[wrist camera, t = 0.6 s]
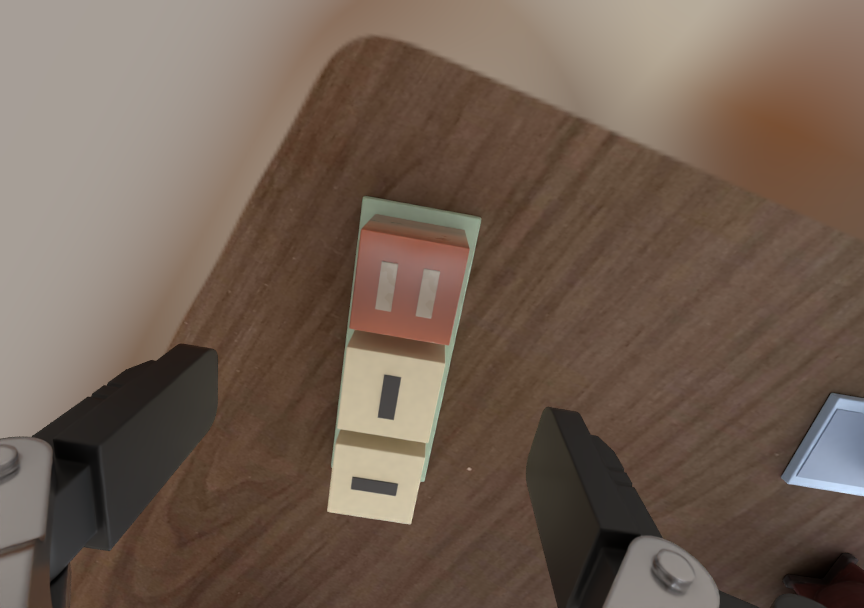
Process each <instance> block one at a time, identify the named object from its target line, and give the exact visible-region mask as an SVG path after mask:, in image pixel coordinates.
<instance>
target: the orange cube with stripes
mask: <svg viewBox="0 0 864 608" xmlns="http://www.w3.org/2000/svg"><path fill="white" fill-rule="evenodd" d="M469 251H470V248H469V244H468V240H467V236H466V233H465V230H462V229H456V228H451V227H445V226H440V225H434V224H429V223H423V222H418V221H412V220H407V219H401V218H396V217H390V216H385V215H379V214H375V215H374V216H373V217H372V218H371V219H370V220H369V221H368V222H367V223H366V224H365V225H364V227H363V228H362V229H361V232H360V241H359V249H358V257H357V266H356V274H355V282H354V291H353V299H352V307H351V316H350V324H349V328H350V329H354V330H360V331H366V332H372V333H378V334H384V335H390V336H395V337H401V338H407V339H413V340H419V341H425V342H431V343H436V344H442V345H449V344H450V340H451V335H452V330H453V326H454V321H455V316H456V312H457V307H458V302H459V298H460V293H461V288H462V284H463V279H464V274H465V270H466V265H467V260H468V256H469Z"/></svg>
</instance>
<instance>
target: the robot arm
mask: <svg viewBox="0 0 864 608" xmlns="http://www.w3.org/2000/svg"><path fill="white" fill-rule="evenodd" d="M217 404H218V355H217V352H216V351H215V350H214V349H211V348H205V347H199V346H193V345H187V344H178V345H177V346H175V347H174V348H173V349H171V350H170V351H169V352H167V353H166V354H165V355H163V356H162V357H161V358H159V359H158V360H157V361H154V360H150V361H147V362H145V363H142V364H140V365H137V366H134V367H132V368H129V369H126V370H125V371H124V372H122V373H121V374H119V375H118V376H117V377H115V378H114V379H112V380H111V381H110V382H108V384H107V386H105V385H104V386H102V387H101V388H100V389H98V390H97V391H96V392H94V393H93V394H92V396H91V397H87V398H86V399H84V400H83V401H81V402H80V403H79V404H77V405H76V406H74V407H73V408H71V409H70V410H69V411H67V412H66V413H64V414H63V415H61V416H60V417H59V418H57V419H56V420H54V421H53V422H51V423H50V424H49V425H47V426H46V427H44V428H43V429H42V430H40V431H39V432H37V433H36V434H35V435H33V436H32V437H8V438H2V439H0V608H70V599H71V565H70V561H71V560H72V559H73V558H74V557H75V556H76V555H77V553H78V552H79V551H80V550H81V549H82V548H83V547H86V548H93V549H100V550H106V551H110V550H111V549H112V548H113V546H114V545H115V544H116V543H117V542H118V540H119V539H120V538H121V537H122V536H123V534H124V533H125V532H126V531H127V529H128V528H129V527H130V526H131V525H132V523H133V522H134V521H135V520H136V518H137V517H138V516H139V515H140V514H141V512H142V511H143V510H144V509H145V508H146V506H147V505H148V504H149V503H150V501H151V500H152V499H153V498H154V497H155V495H156V494H157V493H158V492H159V490H160V489H161V488H162V487H163V486H164V484H165V483H166V482H167V481H168V480H169V478H170V477H171V476H172V475H173V473H174V472H175V471H176V470H177V469H178V467H179V466H180V465H181V464H182V462H183V461H184V460H185V459H186V458H187V456H188V455H189V454H190V453H191V452H192V450H193V449H194V448H195V447H196V445H197V444H198V443H199V442H200V441H201V439H202V438H203V437H204V436H205V434H206V433H207V432H208V431H209V429H210V427H211V426H212V424H213V421H214V419H215V416H216V412H217ZM526 481H527V487H528V491H529V495H530V499H531V503H532V507H533V510H534V514H535V518H536V522H537V526H538V530H539V534H540V538H541V542H542V546H543V550H544V554H545V558H546V562H547V566H548V570H549V574H550V578H551V582H552V586H553V590H554V594H555V598H556V602H557V606H558V608H759V607H757V606H755V605H752V604H750V603H748V602H745V601H743V600H741V599H738V598H736V597H733V596H731V595H729V594H726V593H724V592H722V591H720V590H718V588H717V586H716V584H715V582H714V580H713V578H712V577H711V575H710V574H709V573H708V571H707V570H706V569H705V568H704V567H703V565H702V564H701V563H700V562H699V561H698V560H696V559H695V558H694V557H693V556H692V555H691V554H689V553H688V552H687V551H685V550H684V549H682V548H681V547H679V546H677V545H676V544H674V543H672V542H670V541H667V540H665V539H663V538H662V536H661V534H660V532H659V530H658V529H657V527H656V525H655V523H654V521H653V520H652V518H651V516H650V514H649V513H648V511H647V509H646V507H645V505H644V504H643V502H642V500H641V498H640V497H639V495H638V493H637V491H636V489H635V488H634V487H632V482H631V481H630V479H629V477H628V475H627V473H625V472H624V468H623V466H622V465H621V463H620V461H619V459H618V457H617V456H616V454H615V452H614V451H613V450H612V449H611V448H610V447H609V446H608V445H607V444H606V443H604V442H603V441H602V440H601V439H600V438H599V437H598V436H594V435H590V433H589V431H588V429H587V427H586V425H585V423H584V421H583V419H582V417H581V415H580V414H579V413H578V412H575V411H570V410H564V409H558V408H552V407H546V408H545V409H544V411H543V413H542V415H541V418H540V422H539V425H538V428H537V431H536V434H535V437H534V440H533V443H532V447H531V450H530V453H529V456H528V460H527V466H526ZM770 608H827V607H825V606H824V605H822V604H820V603H818V602H816V601H814V600H812V599H809V598H806V597H804V596H800V595H797V594H783V595H780V596H779V597H777V598H776V600H775V601H774V603H773V604H772V606H771V607H770Z"/></svg>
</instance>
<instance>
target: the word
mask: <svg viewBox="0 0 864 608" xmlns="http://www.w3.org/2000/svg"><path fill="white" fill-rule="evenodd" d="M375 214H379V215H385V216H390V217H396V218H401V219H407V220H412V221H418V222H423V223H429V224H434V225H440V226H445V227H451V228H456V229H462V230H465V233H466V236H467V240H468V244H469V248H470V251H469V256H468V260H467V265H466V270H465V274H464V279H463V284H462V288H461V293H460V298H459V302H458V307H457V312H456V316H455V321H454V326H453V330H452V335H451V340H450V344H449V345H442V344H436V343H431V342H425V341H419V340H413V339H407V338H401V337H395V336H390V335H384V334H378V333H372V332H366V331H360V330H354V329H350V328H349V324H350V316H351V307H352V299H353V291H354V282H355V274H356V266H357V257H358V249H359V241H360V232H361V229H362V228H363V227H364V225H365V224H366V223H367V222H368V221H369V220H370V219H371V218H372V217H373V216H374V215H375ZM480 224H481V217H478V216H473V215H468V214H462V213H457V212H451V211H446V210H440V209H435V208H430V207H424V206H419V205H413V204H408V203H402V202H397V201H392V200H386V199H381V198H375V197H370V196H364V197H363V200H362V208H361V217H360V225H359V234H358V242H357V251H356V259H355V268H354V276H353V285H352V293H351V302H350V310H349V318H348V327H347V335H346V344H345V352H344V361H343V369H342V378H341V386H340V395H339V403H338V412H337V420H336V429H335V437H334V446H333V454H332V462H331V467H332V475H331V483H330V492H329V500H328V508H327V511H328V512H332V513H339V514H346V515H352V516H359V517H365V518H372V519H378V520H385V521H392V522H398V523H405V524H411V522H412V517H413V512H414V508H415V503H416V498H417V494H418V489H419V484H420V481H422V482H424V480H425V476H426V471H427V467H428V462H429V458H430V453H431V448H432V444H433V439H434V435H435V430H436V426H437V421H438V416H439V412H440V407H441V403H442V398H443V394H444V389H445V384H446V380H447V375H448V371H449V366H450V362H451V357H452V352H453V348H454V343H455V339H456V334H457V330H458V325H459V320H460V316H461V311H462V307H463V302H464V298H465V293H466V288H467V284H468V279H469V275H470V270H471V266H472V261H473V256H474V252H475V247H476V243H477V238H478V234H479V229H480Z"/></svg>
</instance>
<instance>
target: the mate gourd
mask: <svg viewBox="0 0 864 608" xmlns="http://www.w3.org/2000/svg"><path fill="white" fill-rule="evenodd" d="M858 561H859V560H858V559H856V558H855V557H854V556H853V555H851V554H848V553H843V554H842V555H841V556H840V557H839V558H838V559H837V561H836V562H835V564H834V565H833V566H832V568H831V569H830V570H829V572H828V573H827V574H826V576H825V577H824V578H822V579H817V578H810V577H803V576H797V575H789V574H788V575H786V576H785V578H784V579H783V582H784V584H785V585H786V587H787V588H791V589H794V590H795V591H796V593H797V595H800V596H804V597H806V598H809V599H812V600H814V601H816V602H818V603H820V604H822V605H824V606H825V607H827V608H864V570H862V569H861V568H860V567H858V566H857V565H856V564H857V562H858Z"/></svg>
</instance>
